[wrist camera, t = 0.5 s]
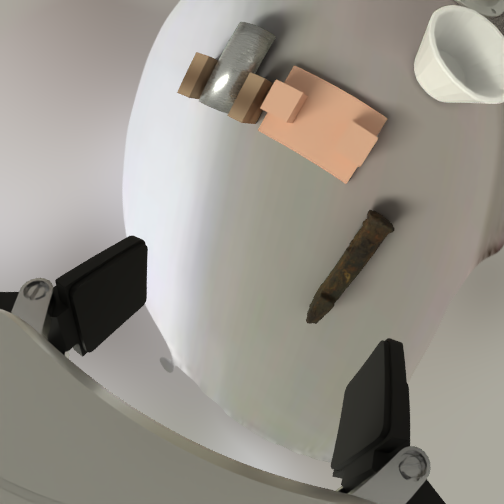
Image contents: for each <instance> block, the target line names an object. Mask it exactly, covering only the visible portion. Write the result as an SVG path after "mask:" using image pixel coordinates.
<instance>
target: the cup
mask: <svg viewBox="0 0 504 504" xmlns="http://www.w3.org/2000/svg"><path fill="white" fill-rule="evenodd" d="M414 71H415V75H416V79H417V80H418V82H419V84H420V85H421V87H422V88H423V90H424V91H425V92H426V93H427V94H428V95H430V96H431V97H433V98H435V99H436V100H438V101H441V102H446V103H490V104H499V103H502V102H504V36H503V35H502V33H501V32H500V31H499V30H498V28H497V27H496V26H495V25H494V24H492V23H491V22H490V21H489V20H488V19H487V18H485V17H484V16H482V15H481V14H479V13H478V12H476V11H475V10H472V9H469V8H466V7H463V6H456V5H449V6H445V7H441V8H439V9H438V10H436V11H435V12H433V15H432V17H431V19H430V21H429V23H428V26H427V29H426V32H425V34H424V37H423V40H422V42H421V45H420V47H419V50H418V52H417V55H416V58H415V61H414Z"/></svg>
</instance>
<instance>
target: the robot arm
mask: <svg viewBox="0 0 504 504" xmlns="http://www.w3.org/2000/svg"><path fill="white" fill-rule="evenodd" d="M454 1H455V2H457V3H458V4H459V5H461V6H463V7H466V8H469V9H472V10H475V11H476V12H478V13H479V14H481V15H482V16H484V17H487V18H495V17H498V16H500V15H501V14H502V13H503V12H504V0H454ZM147 251H148V249H147V246H146V245H145V241H144V240H142V239H140V238H137V237H135V236H129V237H127V238H125V239H123V240H122V241H120V242H118V243H116V244H115V245H113V246H111V247H109V248H107V249H106V250H104V251H102V252H101V253H99V254H97V255H95V256H94V257H92V258H90V259H89V260H87V261H85V262H84V263H82V264H80V265H79V266H77V267H75V268H74V269H72V270H70V271H69V272H67V273H66V274H64V275H62V276H61V277H59V278H58V279H56V286H55V287H53V285H52V283H51V282H50V281H49V280H46V279H44V278H36V279H32V280H30V281H28V282H26V283H25V284H24V285H23V286H22V288H21V289H20V291H19V292H0V504H446V503H445V502H444V501H443V500H442V498H441V497H440V496H439V495H438V493H437V492H436V491H435V489H434V488H433V487H432V486H431V484H430V483H429V482H428V481H427V477H428V476H429V473H430V461H429V458H428V456H427V455H426V453H425V452H424V451H422V450H421V449H420V448H418V447H414V446H410V405H409V387H408V384H407V382H406V370H405V359H404V350H403V344H402V343H401V342H398V341H395V340H392V339H390V338H388V339H386V340H385V341H383V340H382V341H380V343H379V344H378V345H377V347H376V348H375V350H374V351H373V352H372V354H371V355H370V357H369V358H368V359H367V361H366V362H365V363H364V365H363V366H362V367H361V369H360V370H359V371H358V373H357V374H356V375H355V376H354V378H353V379H352V380H351V381H350V383H349V384H348V386H347V387H346V390H345V394H344V400H343V407H342V413H341V418H340V424H339V429H338V434H337V439H336V444H335V449H334V453H333V458H332V462H331V468H332V469H334V472H333V477H338V478H343V479H342V483H341V485H342V486H341V487H340V488H339V489H337V490H336V491H333V490H329V489H325V488H321V487H317V486H312V485H309V484H305V483H301V482H298V481H294V480H291V479H288V478H284V477H281V476H278V475H275V474H272V473H269V472H266V471H262V470H260V469H257V468H254V467H251V466H248V465H246V464H243V463H241V462H238V461H236V460H233V459H231V458H228V457H226V456H224V455H221V454H219V453H217V452H215V451H212V450H210V449H208V448H206V447H204V446H202V445H200V444H197V443H195V442H193V441H191V440H189V439H187V438H185V437H183V436H181V435H180V434H178V433H176V432H174V431H172V430H170V429H169V428H167V427H165V426H163V425H161V424H160V423H158V422H156V421H155V420H153V419H151V418H149V417H148V416H146V415H145V414H143V413H141V412H140V411H138V410H137V409H135V408H133V407H131V406H130V405H129V404H127V403H126V402H124V401H123V400H121V399H120V398H118V397H117V396H116V395H114V394H113V393H111V392H110V391H109V390H107V389H106V388H104V387H103V386H102V385H100V384H99V383H98V382H96V381H95V380H94V379H92V378H91V377H90V376H89V375H87V374H86V373H85V372H83V371H82V370H81V369H80V368H79V367H77V366H76V365H75V364H74V363H73V362H71V361H70V360H69V352H70V349H71V348H72V347H73V348H74V350H75V351H77V352H78V353H79V354H80V355H82V356H84V355H85V354H86V353H87V352H92V351H93V350H94V349H96V348H97V347H98V346H99V345H100V344H101V343H102V342H103V341H104V340H105V339H106V338H108V337H109V336H110V335H111V334H112V333H113V332H114V331H115V330H116V329H117V328H119V327H120V326H121V325H122V324H123V323H124V322H125V321H126V320H127V319H129V318H130V317H131V316H132V315H133V314H134V313H135V312H137V311H138V310H139V309H140V308H141V307H142V306H143V305H144V304H145V302H146V298H147Z"/></svg>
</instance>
